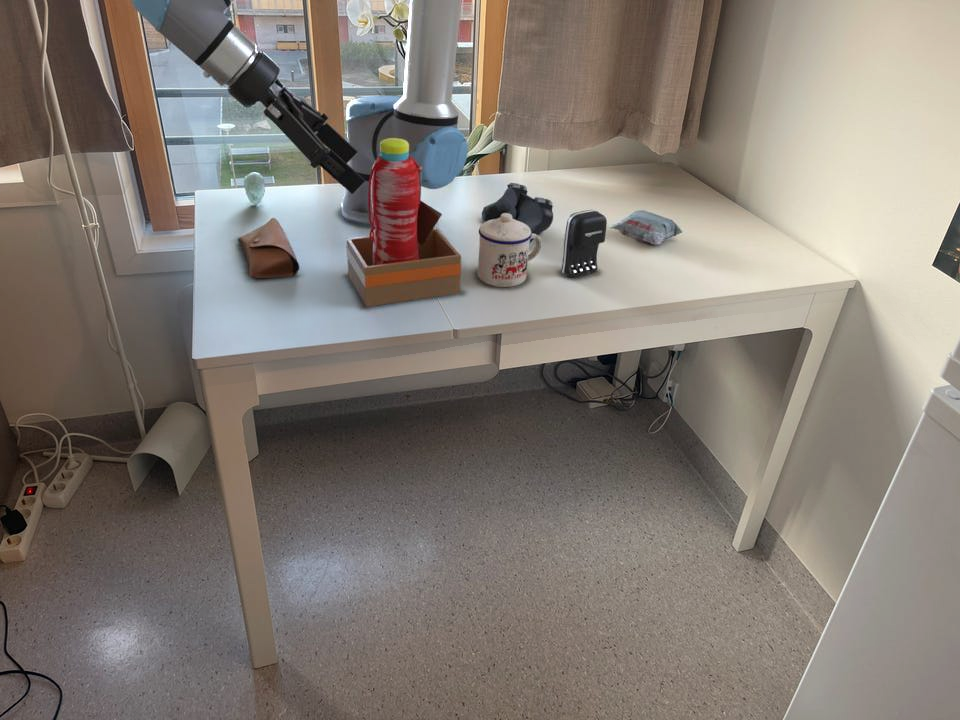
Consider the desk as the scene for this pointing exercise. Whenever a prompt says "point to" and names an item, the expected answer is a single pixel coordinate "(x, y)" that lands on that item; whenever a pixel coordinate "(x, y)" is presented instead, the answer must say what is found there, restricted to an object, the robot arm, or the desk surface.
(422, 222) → the water bottle
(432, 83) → the robot arm
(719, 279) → the desk surface
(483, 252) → the teacup with lid
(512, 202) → the binoculars
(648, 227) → the packaged food
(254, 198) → the pale green rounded lump
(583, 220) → the battery charger
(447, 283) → the wooden box
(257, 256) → the sunglasses case
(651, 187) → the desk surface
